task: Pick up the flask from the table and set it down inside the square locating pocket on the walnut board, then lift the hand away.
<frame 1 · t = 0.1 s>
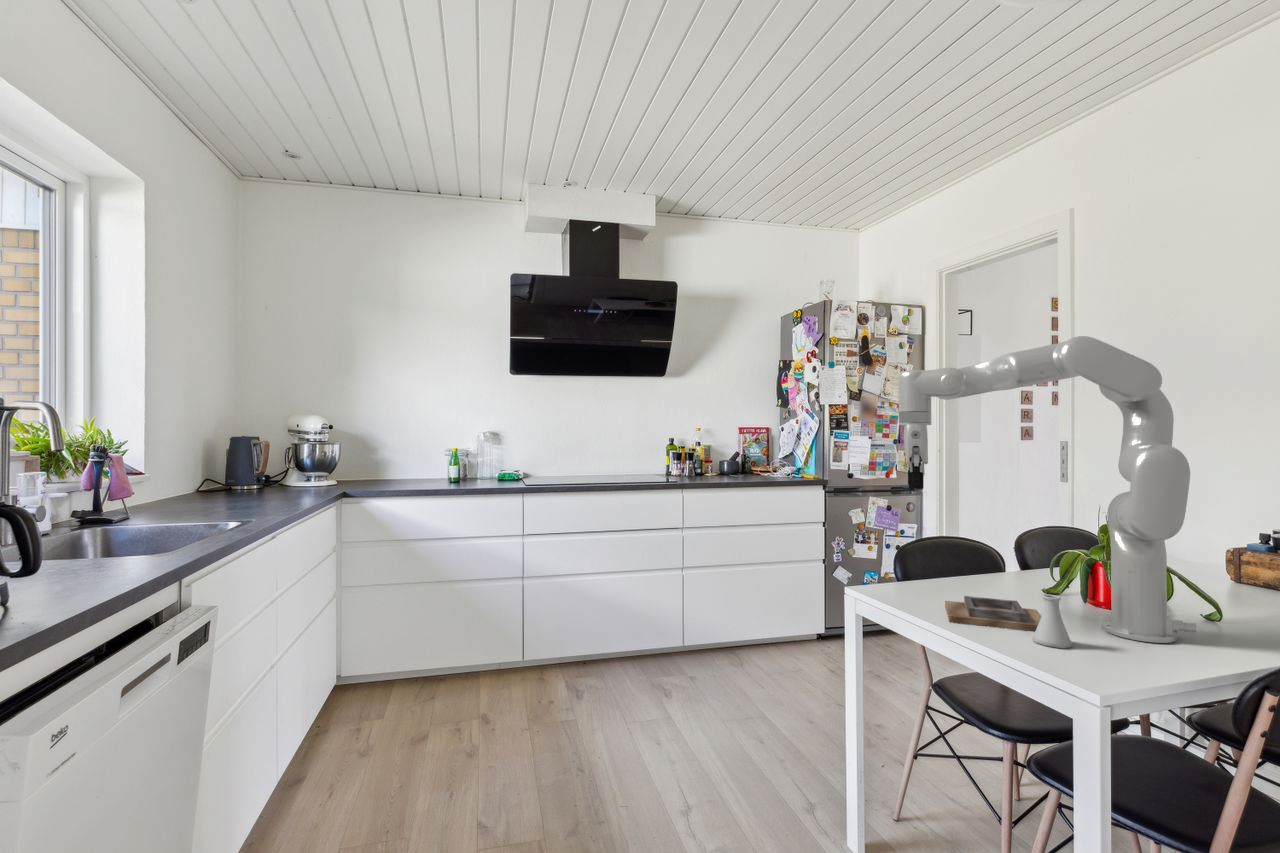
hand: (915, 487, 151), 31 cm above the table, tool pointing down, fingers open, 9 cm apart
walnut board: (993, 618, 144), on the table
flask: (1052, 644, 127), on the table
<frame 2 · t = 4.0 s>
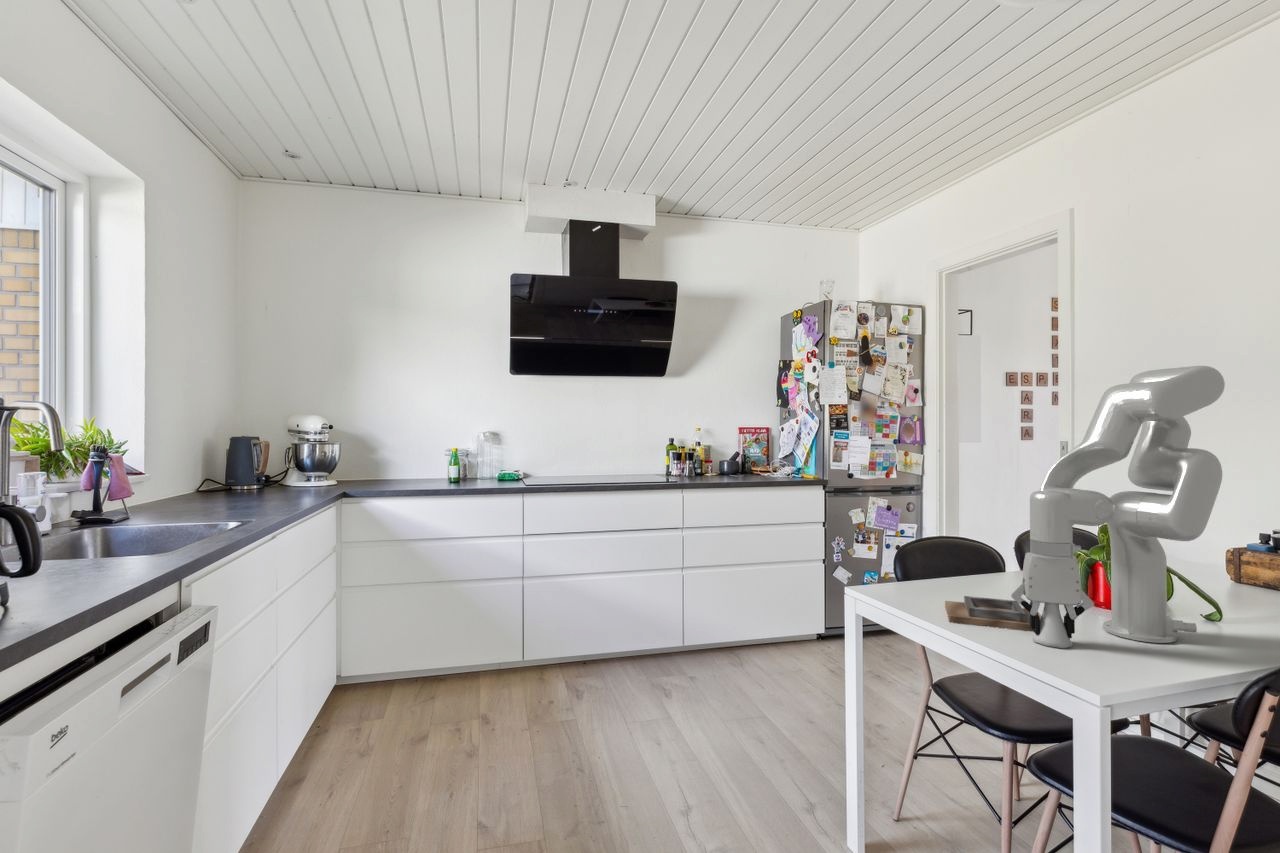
hand: (1051, 633, 127), 2 cm above the table, tool pointing down, fingers closed on flask, 5 cm apart
flask: (1052, 643, 127), on the table, touching gripper
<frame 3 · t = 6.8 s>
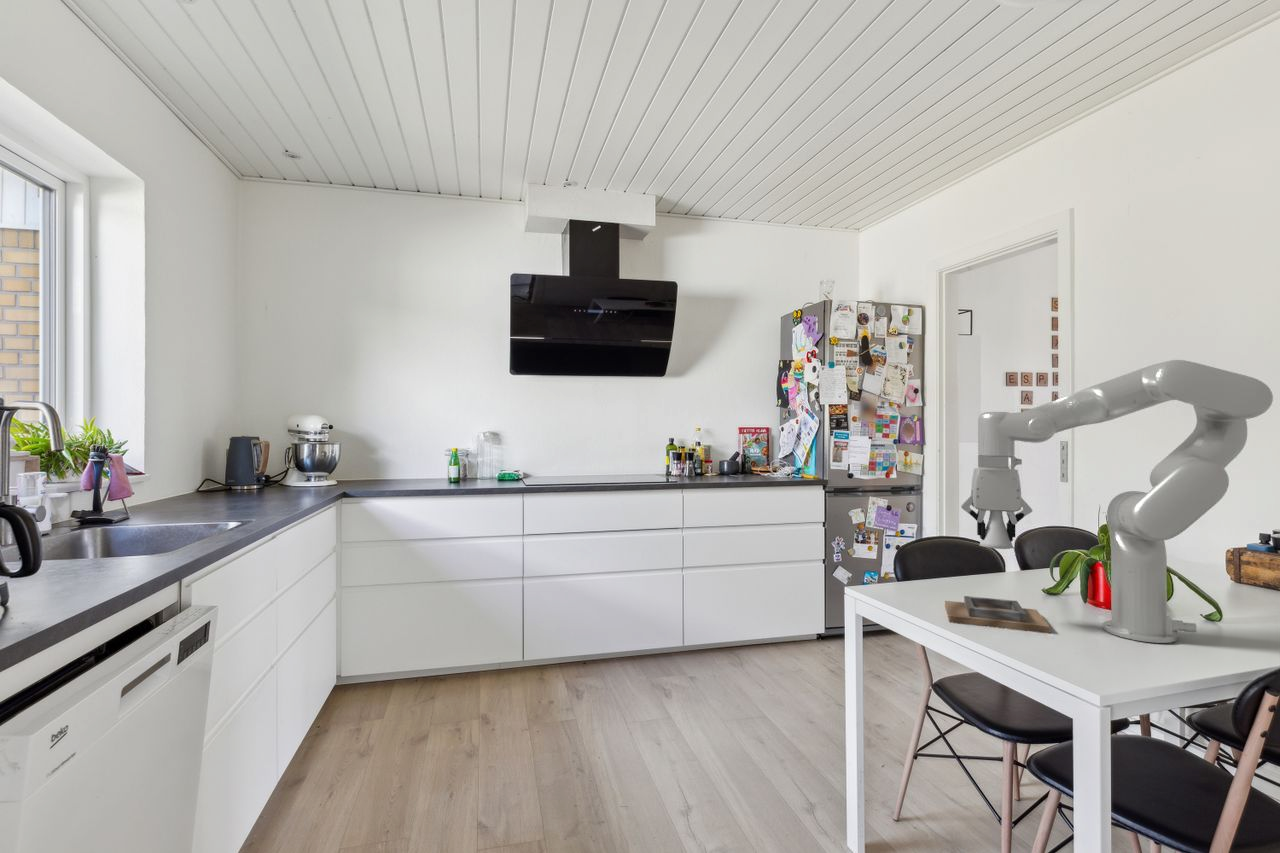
hand: (996, 538, 143), 20 cm above the table, tool pointing down, fingers closed on flask, 5 cm apart
flask: (996, 547, 143), point 17 cm above the table, touching gripper
when the fingers open (6 cm above the table, at t = 9.9 s): flask drops 2 cm, resting on walnut board.
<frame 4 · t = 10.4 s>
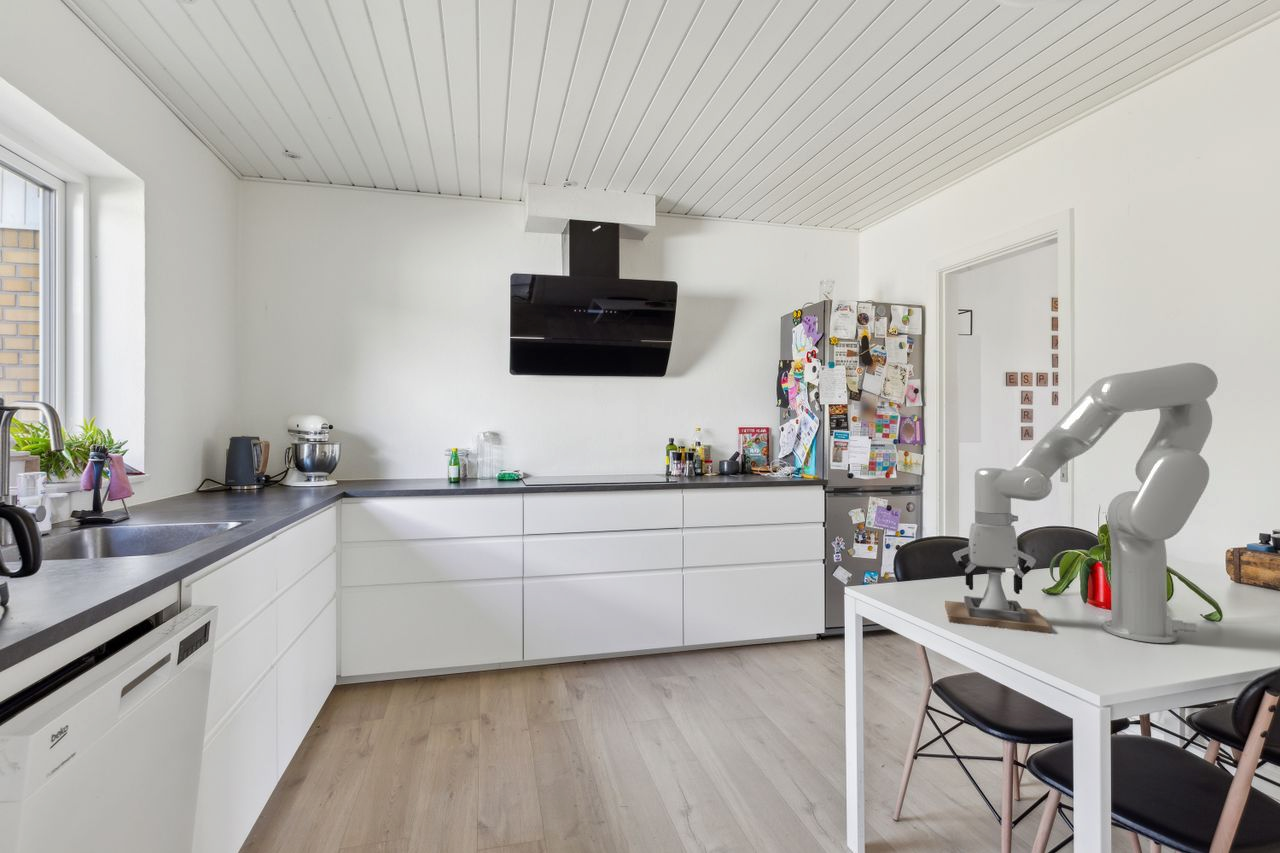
hand: (993, 590, 144), 7 cm above the table, tool pointing down, fingers open, 9 cm apart
flask: (994, 613, 143), point 1 cm above the table, touching walnut board
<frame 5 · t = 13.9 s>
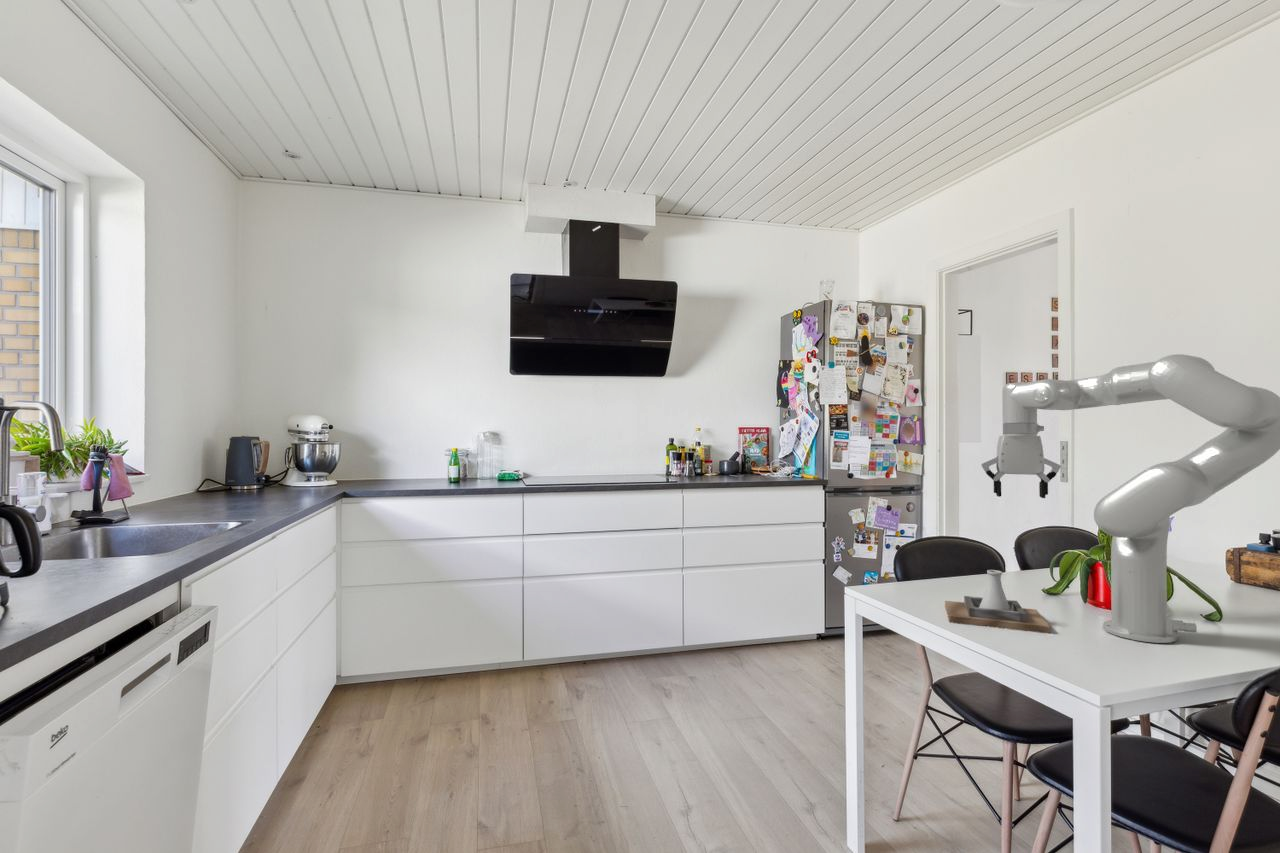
hand: (1020, 496, 154), 28 cm above the table, tool pointing down, fingers open, 9 cm apart
nothing on the table moved.
at the end: flask 0.3 cm off-centre on the walnut board, point 1.3 cm above the walnut board's base; flask tilted 0°; the gripper is holding nothing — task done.
